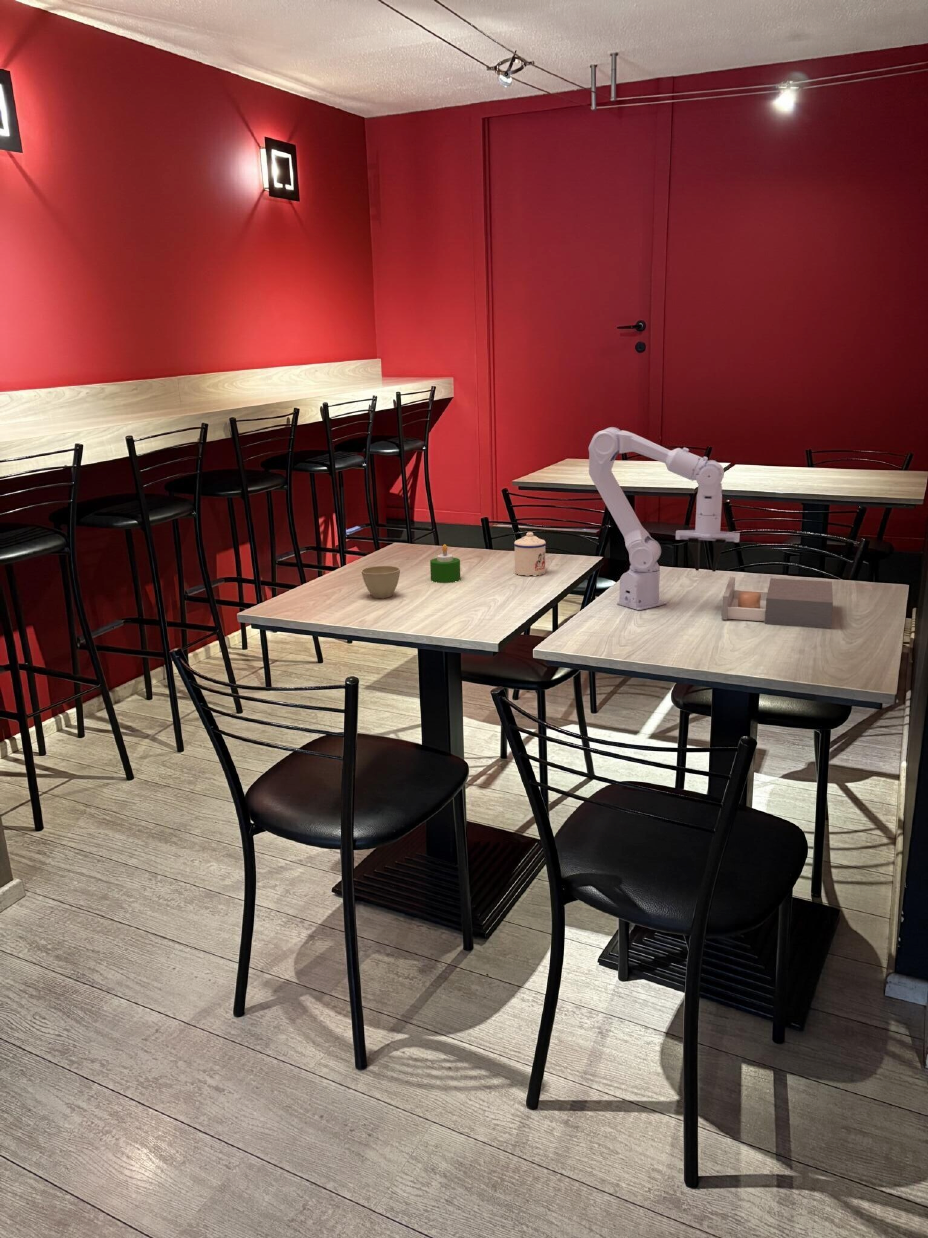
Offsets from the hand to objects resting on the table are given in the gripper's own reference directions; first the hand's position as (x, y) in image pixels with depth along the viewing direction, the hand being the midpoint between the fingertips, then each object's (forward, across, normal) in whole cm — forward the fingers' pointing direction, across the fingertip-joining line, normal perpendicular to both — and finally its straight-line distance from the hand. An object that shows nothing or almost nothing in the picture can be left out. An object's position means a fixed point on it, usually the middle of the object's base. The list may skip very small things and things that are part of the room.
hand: (705, 570), depth 224 cm
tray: (+9, +11, 0) cm, 14 cm away
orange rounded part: (+9, +10, 0) cm, 13 cm away
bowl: (+10, -81, -10) cm, 82 cm away
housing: (+9, +20, 0) cm, 23 cm away
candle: (+10, -71, +12) cm, 73 cm away
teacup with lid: (+10, -51, +26) cm, 58 cm away
